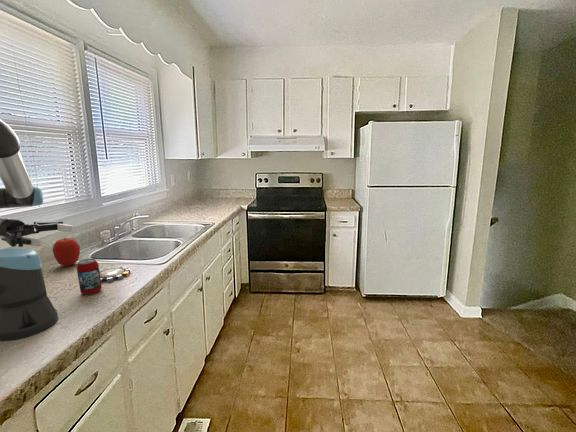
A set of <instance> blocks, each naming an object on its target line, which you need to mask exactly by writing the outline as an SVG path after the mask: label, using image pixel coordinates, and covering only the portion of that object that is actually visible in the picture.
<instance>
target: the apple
mask: <svg viewBox="0 0 576 432" xmlns="http://www.w3.org/2000/svg"><path fill="white" fill-rule="evenodd" d="M80 253H81V247H80V245H79V243H78V242H77V240H75V239H74V238H66V237H63V238H60V239H58V240H56V241H55V243H54V244H53V247H52V254H53V257H54V259H55V261H56V262H57V263H58V264H59V265H60V266H62V267H68V266H69V267H70V266H73V265H75V264H76V263H78V262H79V258H80Z"/></svg>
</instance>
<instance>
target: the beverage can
mask: <svg viewBox="0 0 576 432" xmlns="http://www.w3.org/2000/svg"><path fill="white" fill-rule="evenodd" d="M99 270H100V266H99V263H98V261H97V260H96V259H95V258H87V259H86V258H85V259H82V260H78V261H77V266H76V271H77V280H78V285H79V290H80V293H81V294H83V295H93V294H94V295H95V294H97V293H98V292H99V291H101V290H102V283H101V279H100V272H99Z"/></svg>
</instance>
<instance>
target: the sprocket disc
mask: <svg viewBox="0 0 576 432" xmlns="http://www.w3.org/2000/svg"><path fill="white" fill-rule="evenodd" d="M99 272H100V279H101V284H103V283H104V282H106V283H113V282H114V281H116V280H117V281H120V280H122V279H124V277H125V278H126V277H128V276H130V274H131V268H129V267H128V266H115V267H113V266H110V267H107V268H105V269H104V268H101V269H100V268H99Z"/></svg>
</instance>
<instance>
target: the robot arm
mask: <svg viewBox="0 0 576 432" xmlns="http://www.w3.org/2000/svg"><path fill="white" fill-rule="evenodd" d="M21 144H22V143H21V141H20V139H19V137H18V135H17V134H16V132H15V131H14V130H13V129H12V127H10V126H9V125H8V124H7V123H6V122H5V121H3V120H2V119H1V118H0V180H1V182H2V184H3V185H4V188H3V187H2V188H1V187H0V209H1V210H2V209H10V208H11V209H14V208H15V209H16V208H25V207H32V208H33V207H35V206H42V205H43V204H44V195H43V190H42V188H41V187H40V186H34V185H33V184H32V181H31V179H30V176H29V174H28V171H27V168H26V166H25V164H24V160H23V158H22V155H21V152H20V151H21V148H22V145H21ZM51 231H58V232H64V233H70V234H71V233H72V234H73V233H75V226H74V224H73V225H72V224H66V223H64V222H63V220H57V221H33V223H25V222H23V221H22V220H20V219H15V218H7V217H0V239H1V241H3V242H6V243H7V244H8V245H9V246H10V247H12V248H4V249H0V341H13V340H18V339H23V338H26V337H29V336H34V335H36V334H39V333H42V332H43V331H45V330H48V328H50V327H52V326H54V325H55V324H56V323H57V322H58V321H59V314H58V310H57V308H56V307H54V305H53V303H52V301H51V299H50V298H49V297H48V292H47V288H46V283H45V277H44V272H43V266H44V265H43V263H42V261H41V257H40V254H39V253H38V252H37V251H35V250H33V249H28V248H22V247H24V245H26V246H33V247H39V248H40V247H43V242H42V238H40V237H35V236H34V237H32V236H29V235H35V234H39V233H41V232H51ZM17 245H18V248H13V247H16V246H17Z"/></svg>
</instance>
